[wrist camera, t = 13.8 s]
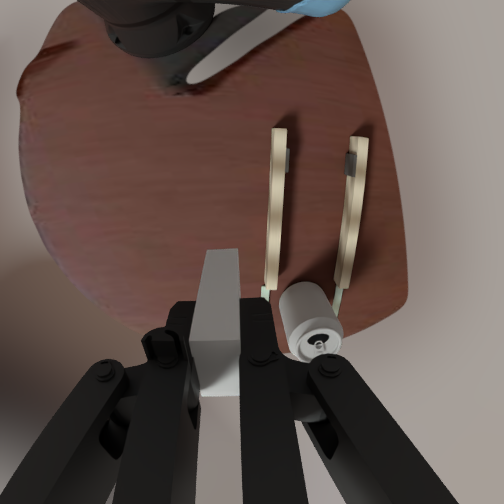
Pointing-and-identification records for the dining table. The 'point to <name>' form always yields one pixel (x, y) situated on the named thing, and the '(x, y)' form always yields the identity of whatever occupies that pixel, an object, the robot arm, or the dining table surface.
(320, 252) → the dining table surface
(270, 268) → the chute
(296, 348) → the can
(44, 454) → the robot arm
